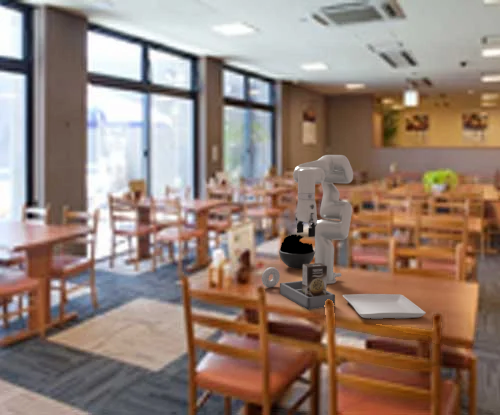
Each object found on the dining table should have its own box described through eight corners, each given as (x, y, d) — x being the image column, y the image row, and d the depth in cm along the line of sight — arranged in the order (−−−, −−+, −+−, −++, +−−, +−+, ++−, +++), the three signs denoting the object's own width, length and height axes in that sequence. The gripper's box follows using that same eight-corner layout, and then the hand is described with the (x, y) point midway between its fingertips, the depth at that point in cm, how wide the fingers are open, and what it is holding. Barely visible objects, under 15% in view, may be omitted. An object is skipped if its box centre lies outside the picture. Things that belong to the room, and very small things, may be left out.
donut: (264, 289, 243) (264, 269, 242) (260, 288, 246) (260, 267, 245) (280, 286, 249) (281, 266, 247) (276, 285, 252) (277, 265, 250)
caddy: (279, 293, 237) (280, 283, 236) (304, 290, 242) (305, 280, 242) (307, 309, 214) (307, 298, 213) (334, 306, 219) (335, 294, 218)
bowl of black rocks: (296, 262, 301) (297, 231, 299) (321, 269, 286) (322, 235, 284) (271, 267, 288) (272, 234, 286) (296, 274, 273) (297, 239, 271)
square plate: (426, 321, 202) (427, 312, 201) (359, 322, 200) (359, 313, 199) (401, 301, 229) (401, 292, 228) (341, 301, 227) (341, 293, 226)
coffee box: (307, 303, 218) (307, 266, 216) (301, 299, 224) (302, 263, 222) (326, 302, 220) (327, 265, 219) (320, 297, 227) (321, 262, 225)
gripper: (324, 198, 219) (323, 237, 221) (303, 194, 234) (302, 230, 237) (309, 199, 216) (308, 238, 218) (289, 195, 231) (288, 232, 234)
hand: (305, 234), depth 228 cm, fingers open, 9 cm apart
